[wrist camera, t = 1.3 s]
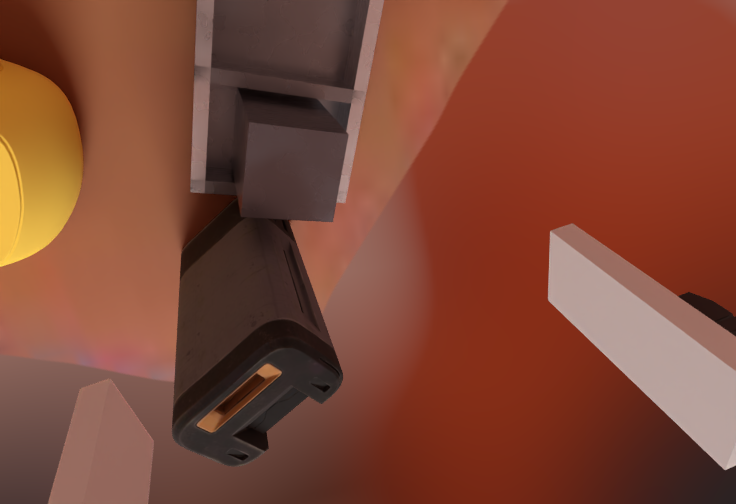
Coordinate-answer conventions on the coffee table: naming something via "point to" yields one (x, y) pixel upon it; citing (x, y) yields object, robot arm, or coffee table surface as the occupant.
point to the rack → (280, 102)
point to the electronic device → (245, 338)
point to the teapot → (35, 161)
